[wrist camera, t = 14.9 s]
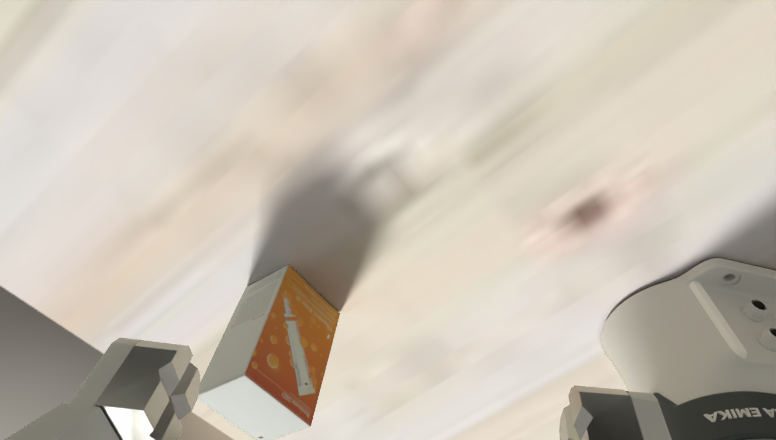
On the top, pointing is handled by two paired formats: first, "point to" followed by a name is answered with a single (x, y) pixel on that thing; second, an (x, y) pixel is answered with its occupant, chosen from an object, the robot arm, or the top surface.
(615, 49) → the top surface
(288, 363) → the small box
